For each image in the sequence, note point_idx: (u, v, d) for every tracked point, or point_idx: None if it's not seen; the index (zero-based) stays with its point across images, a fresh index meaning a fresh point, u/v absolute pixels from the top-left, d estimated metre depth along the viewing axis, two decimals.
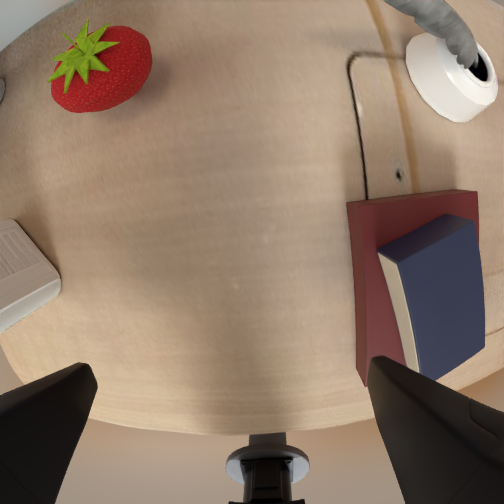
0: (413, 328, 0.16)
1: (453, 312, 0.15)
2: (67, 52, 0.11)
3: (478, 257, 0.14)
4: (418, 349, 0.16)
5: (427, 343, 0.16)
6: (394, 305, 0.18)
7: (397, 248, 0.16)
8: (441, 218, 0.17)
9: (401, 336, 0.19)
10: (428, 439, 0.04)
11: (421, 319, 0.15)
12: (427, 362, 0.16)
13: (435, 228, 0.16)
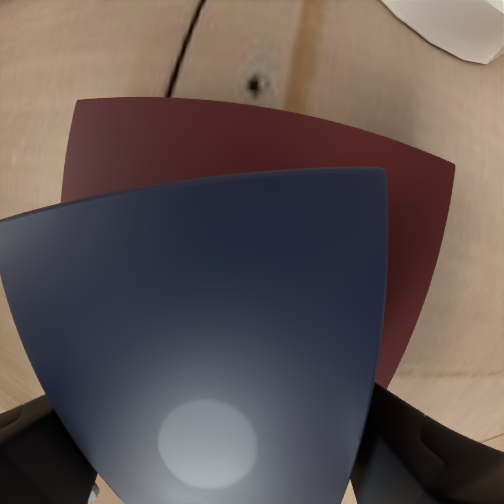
0: (68, 430, 0.05)
1: (201, 470, 0.04)
2: None
3: (367, 357, 0.04)
4: (100, 474, 0.05)
5: (122, 480, 0.05)
6: None
7: None
8: None
9: None
10: (375, 455, 0.04)
11: (81, 426, 0.04)
12: None
13: None
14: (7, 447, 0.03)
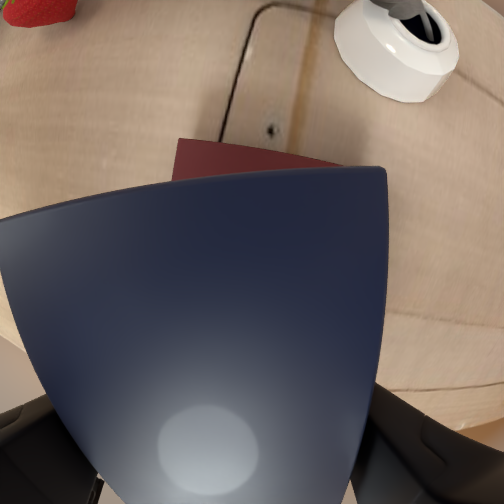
0: (68, 429, 0.05)
1: (202, 469, 0.04)
2: None
3: (367, 356, 0.04)
4: (100, 474, 0.05)
5: (123, 480, 0.05)
6: None
7: None
8: None
9: None
10: (375, 455, 0.04)
11: (81, 426, 0.04)
12: None
13: None
14: (7, 447, 0.03)
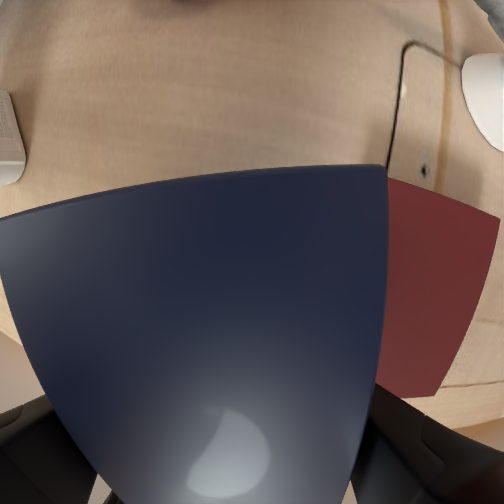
0: (67, 429, 0.05)
1: (201, 470, 0.04)
2: None
3: (368, 356, 0.04)
4: (99, 474, 0.05)
5: (122, 480, 0.05)
6: None
7: None
8: None
9: None
10: (375, 455, 0.04)
11: (80, 426, 0.04)
12: None
13: None
14: (7, 448, 0.03)
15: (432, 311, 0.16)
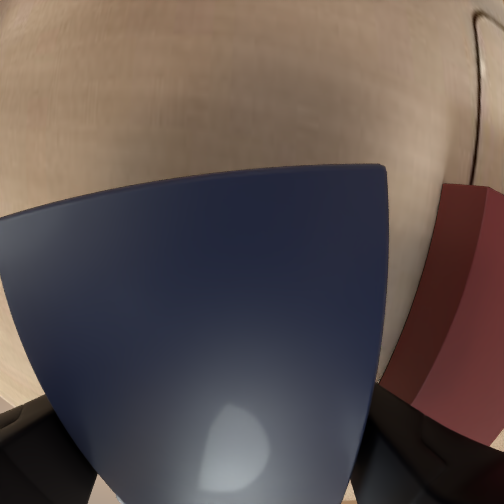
0: (67, 429, 0.05)
1: (201, 470, 0.04)
2: None
3: (367, 355, 0.04)
4: (99, 474, 0.05)
5: (122, 480, 0.05)
6: None
7: None
8: None
9: None
10: (375, 455, 0.04)
11: (80, 425, 0.04)
12: None
13: None
14: (8, 448, 0.03)
15: None
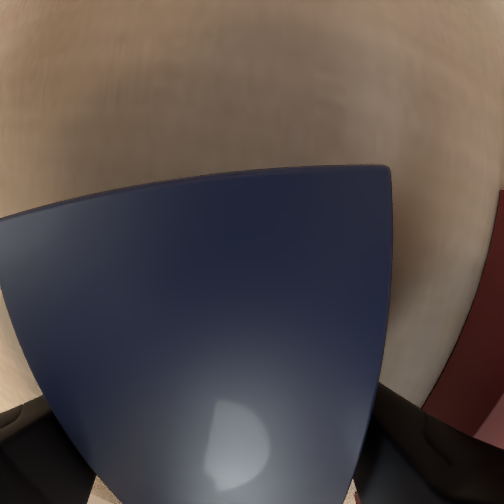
0: (67, 432, 0.05)
1: (201, 473, 0.04)
2: None
3: (370, 360, 0.04)
4: (99, 476, 0.05)
5: (122, 482, 0.05)
6: None
7: None
8: None
9: None
10: (379, 454, 0.04)
11: (79, 428, 0.04)
12: None
13: None
14: (7, 447, 0.03)
15: None
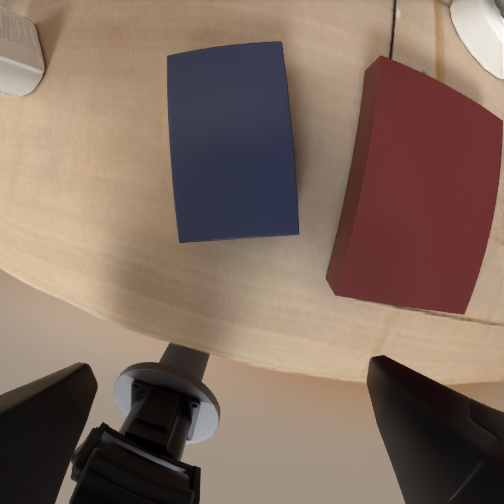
0: (169, 132, 0.14)
1: (230, 133, 0.14)
2: None
3: (282, 80, 0.13)
4: (172, 165, 0.14)
5: (186, 162, 0.14)
6: None
7: None
8: None
9: None
10: (428, 439, 0.04)
11: (180, 123, 0.14)
12: (185, 196, 0.15)
13: None
14: None
15: (453, 196, 0.14)
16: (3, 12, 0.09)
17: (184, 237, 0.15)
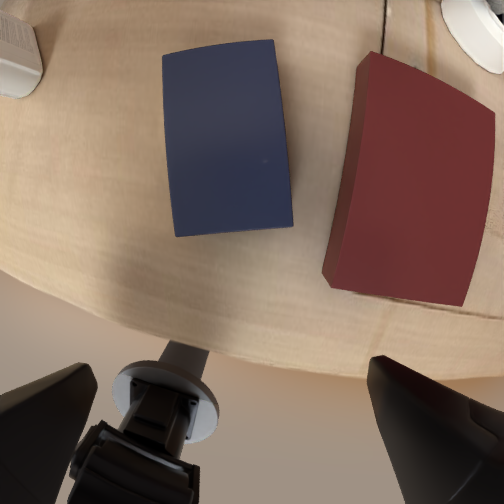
0: (165, 129, 0.14)
1: (224, 129, 0.14)
2: None
3: (274, 76, 0.13)
4: (168, 161, 0.14)
5: (181, 158, 0.14)
6: None
7: None
8: None
9: None
10: (428, 439, 0.04)
11: (175, 120, 0.14)
12: (181, 191, 0.15)
13: None
14: None
15: (446, 187, 0.15)
16: (2, 15, 0.09)
17: (180, 231, 0.15)
